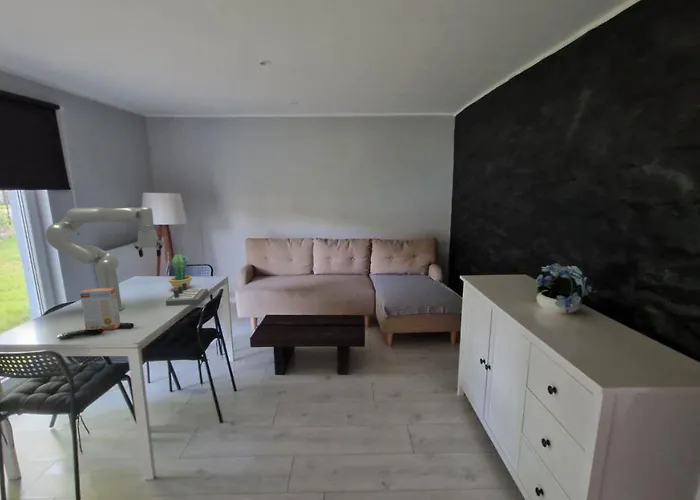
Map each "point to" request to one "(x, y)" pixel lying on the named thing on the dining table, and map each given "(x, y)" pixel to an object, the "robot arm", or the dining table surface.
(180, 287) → the breaker handle
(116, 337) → the dining table surface
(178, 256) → the potted cactus
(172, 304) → the breaker panel
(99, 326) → the cracker box
